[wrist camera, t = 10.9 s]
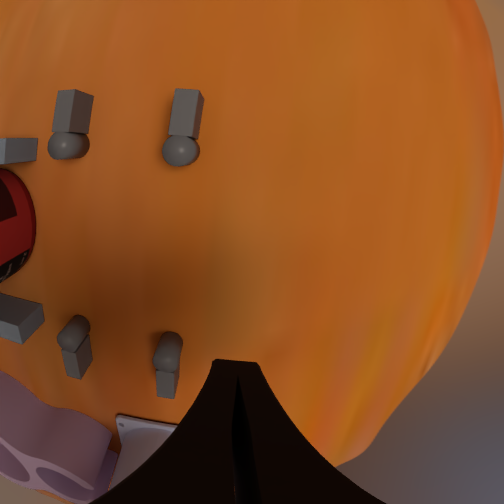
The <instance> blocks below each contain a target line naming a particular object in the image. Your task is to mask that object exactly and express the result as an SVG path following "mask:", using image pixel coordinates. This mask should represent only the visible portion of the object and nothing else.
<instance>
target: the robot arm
mask: <svg viewBox="0 0 504 504" xmlns="http://www.w3.org/2000/svg"><path fill="white" fill-rule="evenodd" d="M116 424H117V428H118V433H119V437H120V441H121V445H122V448H121V452H120V455H119V458H118V461H117V465H116V468H115V471H114V475H113V478H112V481H111V485H110V488H109V491H108V492H106V493H105V494H103V495H101V496H100V497H98V498H97V499H95V500H93V501H92V502H90V503H88V504H386V503H384V502H382V501H381V500H379V499H377V498H376V497H374V496H372V495H371V494H369V493H368V492H366V491H364V490H363V489H361V488H360V487H359V486H357V485H356V484H355V483H353V482H352V481H351V480H350V479H348V478H347V477H346V476H344V475H343V474H342V473H341V472H339V471H338V470H337V469H336V468H335V467H333V466H332V465H331V464H330V463H329V462H328V461H327V460H326V459H325V458H324V457H323V456H322V455H321V454H320V453H319V452H318V451H317V450H316V449H315V448H314V447H313V446H312V445H311V444H310V443H309V442H308V440H307V439H306V438H305V437H304V436H303V435H302V433H301V432H300V431H299V430H298V428H297V427H296V426H295V424H294V423H293V422H292V421H291V419H290V418H289V416H288V415H287V414H286V412H285V411H284V409H283V408H282V406H281V404H280V403H279V401H278V400H277V398H276V397H275V395H274V393H273V392H272V390H271V388H270V386H269V385H268V383H267V381H266V379H265V377H264V375H263V373H262V371H261V369H260V366H259V365H258V364H257V363H256V362H246V361H234V360H224V359H215V360H214V361H212V366H211V369H210V372H209V375H208V377H207V379H206V381H205V383H204V385H203V387H202V389H201V391H200V393H199V394H198V396H197V398H196V400H195V401H194V403H193V405H192V406H191V408H190V409H189V410H188V412H187V413H186V415H185V416H184V418H183V419H182V420H181V422H180V423H179V425H178V426H177V425H171V424H164V423H159V422H153V421H148V420H142V419H137V418H133V417H128V416H123V415H117V417H116ZM234 488H235V491H234Z"/></svg>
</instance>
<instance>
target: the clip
mask: <svg viewBox="0 0 504 504" xmlns="http://www.w3.org/2000/svg"><path fill="white" fill-rule="evenodd" d="M111 438H112V433H111V432H110V431H109V430H108V429H107V428H106V427H104V426H103V425H102V424H100V423H99V422H97V421H96V420H94V419H92V418H91V417H89V416H87V415H85V414H82V413H80V412H77V411H74V410H71V409H65V408H55V407H52V406H49V405H47V404H45V403H44V402H42V401H41V400H39V399H38V398H37V397H36V396H35V395H34V394H33V393H32V392H30V391H29V390H28V389H27V388H26V387H25V386H23V385H22V384H21V383H20V382H18V381H17V380H16V379H14V378H13V377H11V376H10V375H8V374H6V373H4V372H2V371H0V475H2V476H4V477H5V478H7V479H8V480H10V481H12V482H14V483H16V484H18V485H20V486H23V487H26V488H30V489H41V490H45V491H48V492H51V493H53V494H55V495H57V496H59V497H61V498H63V499H66V500H68V501H70V502H73V503H75V504H88V503H90V502H92V501H93V500H95V499H97V498H98V497H100V496H101V495H103V494H105V493H106V492H107V491H108V488H109V484H110V481H111V477H112V474H113V471H114V468H115V464H116V461H117V458H118V454H117V453H116V452H114V451H112V450H107V449H108V446H109V443H110V441H111Z"/></svg>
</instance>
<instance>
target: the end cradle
mask: <svg viewBox="0 0 504 504" xmlns="http://www.w3.org/2000/svg"><path fill="white" fill-rule="evenodd" d="M37 142H38V138H3V139H0V164H9V163H17V162H26V161H36V153H37ZM43 322H44V315H43V309H42V304H39V303H35V302H31V301H27V300H23V299H20V298H16V297H12V296H9V295H5V294H2V293H0V337H2V338H5V339H8V340H11V341H13V342H16V343H19V344H23V343H24V342H25V341H26V340H27V339H28V338H29V337H30V336H31V335H32V334H33V333H34V332H35V331H36V330H37V329H38V327H39V326H40V325H41V324H42V323H43Z"/></svg>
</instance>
